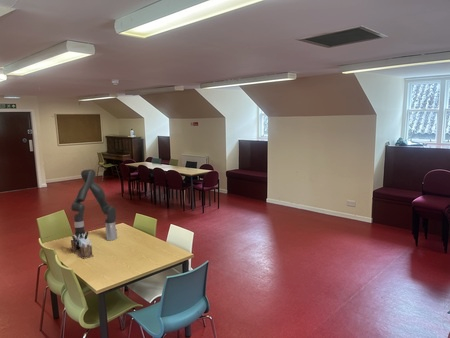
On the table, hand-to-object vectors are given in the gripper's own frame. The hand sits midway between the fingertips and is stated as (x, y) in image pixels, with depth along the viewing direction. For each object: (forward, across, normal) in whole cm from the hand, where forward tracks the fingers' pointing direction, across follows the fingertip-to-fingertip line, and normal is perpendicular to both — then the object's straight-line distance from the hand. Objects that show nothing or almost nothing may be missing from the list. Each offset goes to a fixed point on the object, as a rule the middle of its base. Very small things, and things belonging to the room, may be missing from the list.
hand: (80, 244), depth 280 cm
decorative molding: (+8, -13, -29) cm, 33 cm away
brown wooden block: (+8, 0, 0) cm, 8 cm away
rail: (0, 0, 0) cm, 0 cm away
